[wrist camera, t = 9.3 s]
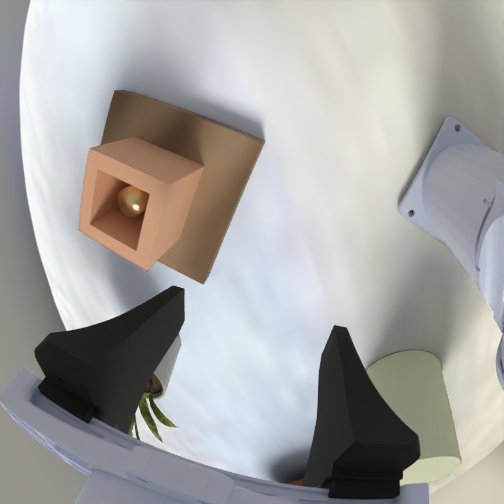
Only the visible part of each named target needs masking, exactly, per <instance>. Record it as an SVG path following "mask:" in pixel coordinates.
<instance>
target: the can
mask: <svg viewBox="0 0 504 504" xmlns="http://www.w3.org/2000/svg"><path fill="white" fill-rule="evenodd" d="M366 372H367V374H368V376H369V378H370V379H371V381H372V383H373V384H374V386H375V387H376V389H377V391H378V392H379V394H380V395H381V396H382V398H383V399H384V400H385V402H386V403H387V404H388V405H389V407H390V408H391V409H392V410H393V411H394V412H395V414H396V415H397V416H398V417H399V418H400V419H401V420H402V421H403V422H404V423H405V424H406V425H407V426H408V427H410V428H411V429H412V430H413V431H414V432H415V433H416V434H417V435H418V437H419V442H420V452H421V456H420V458H419V459H418V460H417V461H416V462H415V463H414V464H412V465H411V466H410V467H408V468H407V469H405V470H404V471H403V479H402V480H400V486H401V485H405V484H415V483H428V485H429V484H432V483H434V482H436V481H439V480H441V479H443V478H445V477H446V476H448V475H450V474H451V473H452V472H454V471H455V470H456V469H457V468H458V467H459V466H460V464H461V461H462V459H461V456H460V452H459V447H458V441H457V436H456V431H455V426H454V422H453V417H452V412H451V408H450V403H449V399H448V395H447V391H446V387H445V383H444V379H443V374H442V366H441V363H440V361H439V359H438V358H437V357H436V356H435V355H433V354H431V353H429V352H426V351H421V350H407V351H401V352H397V353H394V354H391V355H388V356H386V357H384V358H382V359H380V360H378V361H377V362H375V363H374V364H372V365H371V366H370V367H369V368H368V369H367V370H366Z"/></svg>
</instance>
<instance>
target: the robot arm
mask: <svg viewBox="0 0 504 504" xmlns="http://www.w3.org/2000/svg"><path fill="white" fill-rule="evenodd" d="M456 125H458V127H459V130H458V131H456V130H455V126H456ZM410 210H413V214H412V215H408V212H409V211H410ZM398 211H399V213H400V214H401V215H402V216H403V217H405V218H407V219H408V220H410V221H411V222H413V223H414V224H416V225H418V226H419V227H421V228H422V229H424V230H425V231H427V232H428V233H430V234H431V235H433V236H434V237H436V238H437V239H439V240H440V241H442V242H443V243H444V244H446V245H447V246H448V247H449V248H450V249H451V251H452V252H453V253H454V255H455V256H456V257H457V259H458V260H459V262H460V263H461V264H462V266H463V267H464V269H465V270H466V271H467V273H468V274H469V276H470V277H471V279H472V280H473V282H474V283H475V285H476V286H477V288H478V289H479V291H480V292H481V294H482V295H483V297H484V298H485V300H486V302H487V303H488V305H489V306H490V307H491V308H492V310H493V311H494V319H495V321H496V323H497V325H498V326H499V328H500V330H501V332H502V333H503V335H502V338H501V341H500V344H499V346H498V350H497V354H496V372H497V376H498V380H499V382H500V385H501V387H502V389H503V391H504V154H502V153H499V152H496V151H494V150H492V149H491V148H490V147H489V146H487V145H486V144H485V143H484V142H483V141H482V140H481V139H480V138H479V137H477V136H476V135H475V134H474V133H473V132H472V131H470V130H469V129H468V128H467V127H466V126H464V125H463V124H462V123H461V122H460V121H458V120H457V119H456V118H454V117H447V118H446V119H445V121H444V123H443V125H442V127H441V129H440V131H439V133H438V135H437V137H436V139H435V141H434V143H433V145H432V147H431V149H430V151H429V152H428V154H427V156H426V158H425V160H424V162H423V164H422V166H421V167H420V169H419V171H418V173H417V175H416V176H415V178H414V180H413V182H412V184H411V185H410V187H409V189H408V191H407V192H406V194H405V196H404V197H403V199H402V201H401V202H400V204H399V206H398ZM184 320H185V312H184V288H180V287H177V286H171V287H170V288H168V289H166V290H165V291H163V292H161V293H160V294H158V295H156V296H155V297H153V298H151V299H150V300H148V301H146V302H145V303H143V304H141V305H139V306H137V307H135V308H134V309H132V310H130V311H128V312H126V313H124V314H122V315H119V316H117V317H115V318H112V319H110V320H107V321H104V322H101V323H98V324H95V325H92V326H88V327H84V328H80V329H75V330H70V331H63V332H55V333H50V334H49V335H48V336H47V337H46V338H45V339H44V340H43V341H42V342H41V343H40V344H39V345H38V346H37V347H36V348H35V351H34V352H35V357H36V359H37V362H38V363H39V365H40V367H41V369H42V371H43V373H44V374H45V376H46V377H45V378H44V380H43V381H42V380H41V379H40V378H39V377H38V376H37V375H36V374H34V373H33V372H31V371H30V370H29V369H27V368H26V367H24V366H23V367H22V369H21V370H20V371H19V372H18V373H17V374H16V375H15V377H14V378H13V379H12V380H11V381H10V382H9V383H8V385H7V386H6V387H5V388H4V389H3V391H2V392H1V393H0V404H1V405H2V406H3V407H4V408H5V410H6V411H7V412H8V413H9V414H10V415H11V417H12V418H13V419H14V420H15V421H16V422H17V423H18V425H20V426H21V427H22V428H23V429H25V431H27V432H28V433H29V434H30V435H32V436H33V437H34V438H35V439H36V440H38V441H39V442H40V443H42V444H43V445H44V446H46V447H47V448H48V449H49V450H51V451H52V452H53V453H55V454H56V455H57V456H59V457H60V458H61V459H63V460H64V461H66V462H67V463H69V464H70V465H71V466H73V467H74V468H76V469H77V470H79V471H80V472H82V473H83V474H85V475H87V476H88V477H89V478H88V480H87V481H86V483H85V485H84V487H83V488H82V490H81V492H80V494H79V495H78V497H77V499H76V501H75V502H74V504H429V486H428V483H415V484H405V485H401V486H400V480H402V479H403V471H404V470H405V469H407V468H408V467H410V466H411V465H412V464H414V463H415V462H416V461H417V460H418V459H419V458H420V456H421V452H420V442H419V437H418V435H417V434H416V433H415V432H414V431H413V430H412V429H411V428H410V427H408V426H407V425H406V424H405V423H404V422H403V421H402V420H401V419H400V418H399V417H398V416H397V415H396V414H395V412H394V411H393V410H392V409H391V408H390V407H389V405H388V404H387V403H386V402H385V400H384V399H383V398H382V396H381V395H380V394H379V392H378V391H377V389H376V387H375V386H374V384H373V383H372V381H371V379H370V378H369V376H368V374H367V372H366V370H365V368H364V366H363V364H362V362H361V360H360V358H359V356H358V353H357V351H356V349H355V347H354V344H353V342H352V339H351V337H350V334H349V332H348V329H347V328H346V327H341V326H336V325H334V327H333V329H332V331H331V334H330V336H329V339H328V341H327V343H326V346H325V348H324V350H323V353H322V356H321V362H320V369H319V382H318V408H317V420H316V426H315V431H314V437H313V442H312V447H311V451H310V456H309V460H308V464H307V468H306V471H305V475H304V479H303V482H302V485H301V486H297V485H291V484H284V483H278V482H273V481H267V480H262V479H258V478H253V477H249V476H244V475H240V474H236V473H232V472H228V471H225V470H221V469H217V468H214V467H211V466H207V465H204V464H201V463H198V462H195V461H192V460H189V459H186V458H183V457H180V456H177V455H175V454H172V453H169V452H167V451H164V450H162V449H159V448H157V447H154V446H152V445H149V444H147V443H145V442H142V441H140V440H138V439H136V438H133V437H131V436H129V435H127V434H128V431H129V428H130V426H131V423H132V420H133V418H134V415H135V413H136V410H137V408H138V405H139V403H140V400H141V398H142V396H143V394H144V392H145V389H146V387H147V385H148V383H149V381H150V379H151V377H152V375H153V373H154V372H155V370H156V368H157V367H158V365H159V364H160V362H161V360H162V359H163V357H164V356H165V354H166V353H167V351H168V350H169V348H170V347H171V345H172V344H173V342H174V340H175V339H176V337H177V335H178V333H179V331H180V329H181V327H182V325H183V323H184Z"/></svg>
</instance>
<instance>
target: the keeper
mask: <svg viewBox="0 0 504 504" xmlns="http://www.w3.org/2000/svg"><path fill="white" fill-rule="evenodd" d="M132 137H136V138H139V139H141V140H144V141H146V142H149V143H151V144H153V145H156V146H158V147H161V148H163V149H165V150H168V151H170V152H173V153H175V154H177V155H180V156H182V157H184V158H187V159H189V160H191V161H193V162H196V163H198V164H200V165H203V166H205V167H204V169H203V172H202V175H201V177H200V180H199V183H198V186H197V189H196V191H195V194H194V197H193V200H192V203H191V206H190V209H189V212H188V215H187V218H186V221H185V224H184V227H183V230H182V233H181V236H180V238H179V239H178V240H177V241H176V242H175V243H174V244H173V245H172V246H171V247H170V248H169V249H168V250H167V251H166V252H165V253H164V254H163V255H162V256H161V257H160V258H159V259H158V260H157V261H159V262H161V263H162V264H164V265H166V266H168V267H170V268H172V269H174V270H176V271H178V272H180V273H182V274H184V275H186V276H188V277H189V278H191V279H193V280H195V281H197V282H199V283H201V284H204V283H205V281H206V280H207V278H208V276H209V274H210V271H211V269H212V266H213V264H214V261H215V259H216V256H217V254H218V252H219V249H220V247H221V244H222V242H223V239H224V237H225V234H226V232H227V230H228V227H229V225H230V222H231V220H232V217H233V215H234V213H235V210H236V208H237V206H238V203H239V201H240V198H241V196H242V194H243V191H244V189H245V187H246V184H247V182H248V180H249V177H250V175H251V173H252V170H253V168H254V166H255V164H256V161H257V159H258V157H259V154H260V152H261V150H262V148H263V145H264V143H265V141H263V140H260V139H258V138H256V137H253V136H251V135H249V134H246V133H244V132H242V131H239V130H237V129H234V128H232V127H229V126H227V125H224V124H222V123H219V122H217V121H214V120H212V119H209V118H206V117H204V116H201V115H198V114H196V113H193V112H190V111H187V110H185V109H182V108H179V107H176V106H173V105H170V104H167V103H164V102H161V101H158V100H155V99H152V98H148V97H145V96H142V95H139V94H135V93H132V92H128V91H125V90H115V91H114V95H113V98H112V102H111V105H110V109H109V113H108V117H107V121H106V125H105V129H104V133H103V138H102V142H101V145H104V144H107V143H111V142H115V141H119V140H123V139H127V138H132ZM149 196H150V194H149V193H147V192H145V191H143V190H141V189H139V188H136V187H134V186H132V185H130V186H128V187H126V188H124V189H123V190H121V191H120V193H119V195H118V206H119V208H120V210H121V212H122V213H123V214H124V215H126V216H128V217H136V216H138V215H139V214H141V213H143V212H144V211H146V208H147V204H148V200H149Z"/></svg>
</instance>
